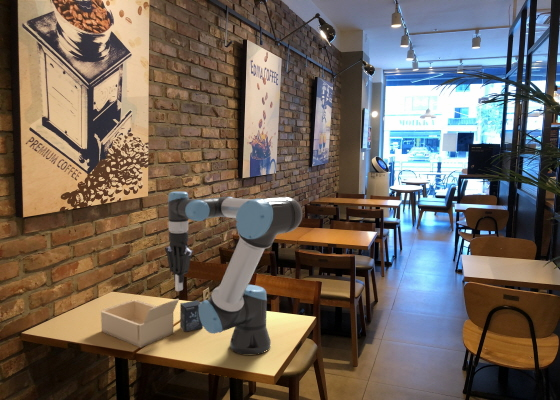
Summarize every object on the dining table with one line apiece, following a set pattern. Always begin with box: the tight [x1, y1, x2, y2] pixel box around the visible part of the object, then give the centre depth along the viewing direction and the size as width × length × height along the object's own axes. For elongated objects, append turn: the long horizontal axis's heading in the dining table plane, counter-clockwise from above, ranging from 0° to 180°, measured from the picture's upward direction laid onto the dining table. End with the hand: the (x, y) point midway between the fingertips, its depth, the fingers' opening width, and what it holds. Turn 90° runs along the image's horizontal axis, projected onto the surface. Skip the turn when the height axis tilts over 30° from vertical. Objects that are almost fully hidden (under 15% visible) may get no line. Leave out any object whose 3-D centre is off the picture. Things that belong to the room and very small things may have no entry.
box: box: [179, 299, 204, 333], centre depth 182 cm, size 8×6×11 cm
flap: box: [144, 298, 180, 324], centre depth 168 cm, size 1×14×7 cm, turn 146°
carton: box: [100, 299, 175, 348], centre depth 177 cm, size 25×17×9 cm
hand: (179, 290), depth 175 cm, fingers closed
